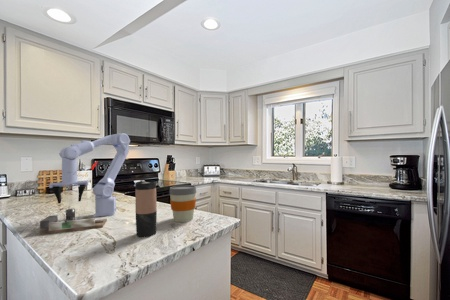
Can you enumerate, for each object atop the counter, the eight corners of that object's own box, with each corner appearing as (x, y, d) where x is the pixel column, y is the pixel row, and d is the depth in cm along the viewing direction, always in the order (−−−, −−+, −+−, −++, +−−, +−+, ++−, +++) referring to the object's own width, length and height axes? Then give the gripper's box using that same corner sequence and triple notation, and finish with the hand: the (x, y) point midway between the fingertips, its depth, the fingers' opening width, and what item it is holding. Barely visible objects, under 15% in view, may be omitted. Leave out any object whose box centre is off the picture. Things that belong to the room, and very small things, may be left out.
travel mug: (161, 231, 85) (160, 180, 85) (148, 238, 78) (147, 183, 78) (145, 229, 87) (144, 180, 88) (131, 236, 80) (130, 183, 80)
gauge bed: (106, 221, 100) (106, 210, 100) (102, 227, 91) (102, 215, 91) (49, 227, 93) (49, 215, 93) (39, 234, 84) (39, 221, 84)
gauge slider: (78, 220, 95) (78, 207, 95) (71, 226, 87) (71, 212, 87) (67, 221, 94) (67, 208, 94) (59, 228, 86) (59, 213, 86)
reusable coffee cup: (192, 213, 109) (191, 184, 109) (200, 220, 98) (199, 187, 98) (167, 217, 104) (166, 186, 104) (172, 224, 92) (172, 190, 93)
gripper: (89, 171, 106) (89, 198, 106) (52, 172, 100) (52, 202, 100) (87, 172, 100) (87, 201, 100) (47, 174, 93) (48, 205, 93)
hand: (69, 202), depth 99 cm, fingers open, 7 cm apart
